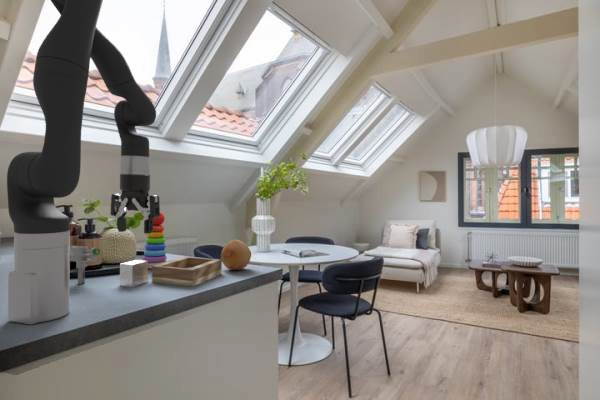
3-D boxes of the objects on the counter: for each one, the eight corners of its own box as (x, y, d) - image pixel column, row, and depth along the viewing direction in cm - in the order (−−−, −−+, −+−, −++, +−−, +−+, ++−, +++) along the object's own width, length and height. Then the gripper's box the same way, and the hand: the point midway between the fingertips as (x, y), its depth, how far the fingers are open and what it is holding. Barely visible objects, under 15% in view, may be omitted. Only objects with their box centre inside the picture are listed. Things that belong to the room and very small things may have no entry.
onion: (251, 273, 116) (251, 241, 115) (219, 273, 114) (220, 241, 114) (250, 266, 125) (251, 237, 125) (221, 267, 124) (221, 237, 123)
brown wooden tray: (192, 286, 98) (192, 270, 98) (152, 282, 102) (152, 266, 102) (221, 273, 113) (221, 259, 113) (185, 270, 117) (185, 256, 117)
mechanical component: (93, 286, 96) (93, 248, 96) (60, 283, 98) (60, 246, 98) (101, 283, 99) (101, 247, 99) (69, 280, 101) (69, 245, 101)
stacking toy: (161, 269, 117) (162, 212, 117) (137, 269, 118) (138, 211, 117) (170, 264, 125) (171, 210, 125) (147, 264, 125) (148, 210, 125)
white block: (132, 287, 96) (132, 264, 96) (119, 285, 97) (120, 263, 97) (147, 281, 102) (147, 260, 102) (135, 280, 103) (136, 259, 103)
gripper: (103, 172, 97) (103, 232, 98) (147, 173, 93) (147, 235, 94) (124, 173, 105) (123, 229, 105) (166, 174, 101) (165, 232, 101)
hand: (134, 232), depth 99 cm, fingers open, 8 cm apart
